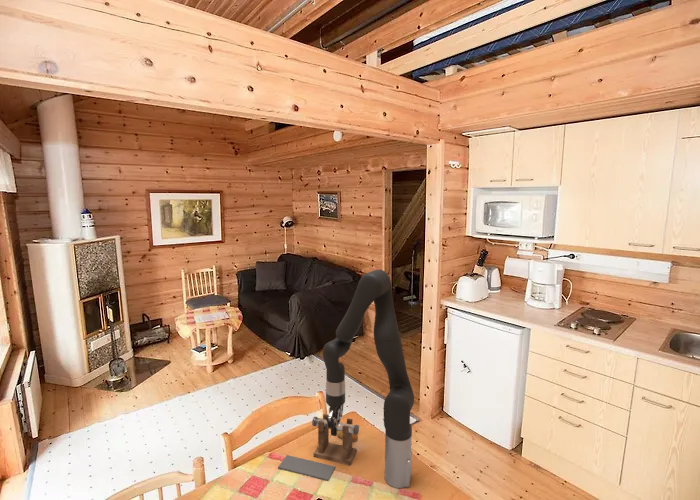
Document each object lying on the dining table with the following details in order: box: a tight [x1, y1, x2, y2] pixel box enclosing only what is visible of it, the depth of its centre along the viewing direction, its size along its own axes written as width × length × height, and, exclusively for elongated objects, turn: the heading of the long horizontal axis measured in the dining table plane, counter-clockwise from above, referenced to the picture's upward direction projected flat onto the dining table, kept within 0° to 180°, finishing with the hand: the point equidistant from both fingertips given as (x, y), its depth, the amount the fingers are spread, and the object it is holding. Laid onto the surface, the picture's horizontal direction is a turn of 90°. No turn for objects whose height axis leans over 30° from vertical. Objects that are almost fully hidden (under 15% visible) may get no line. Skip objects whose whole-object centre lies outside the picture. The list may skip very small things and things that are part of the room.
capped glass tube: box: [311, 416, 360, 436], centre depth 138 cm, size 18×3×3 cm, turn 72°
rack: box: [313, 413, 358, 466], centre depth 138 cm, size 15×8×14 cm, turn 72°
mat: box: [277, 454, 336, 482], centre depth 131 cm, size 20×7×1 cm, turn 72°
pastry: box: [336, 431, 359, 443], centre depth 150 cm, size 9×7×4 cm
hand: (335, 432), depth 138 cm, fingers closed on capped glass tube, 3 cm apart
